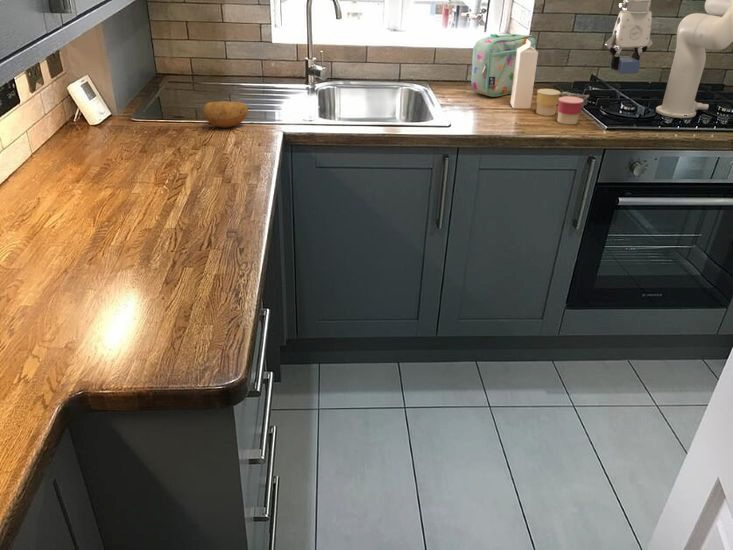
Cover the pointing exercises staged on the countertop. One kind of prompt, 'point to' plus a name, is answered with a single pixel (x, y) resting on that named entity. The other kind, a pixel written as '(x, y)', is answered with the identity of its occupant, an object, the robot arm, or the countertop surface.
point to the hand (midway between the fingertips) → (623, 68)
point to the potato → (225, 113)
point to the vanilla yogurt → (547, 101)
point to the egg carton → (575, 96)
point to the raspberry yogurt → (569, 109)
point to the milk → (524, 76)
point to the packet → (627, 65)
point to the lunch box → (496, 63)
